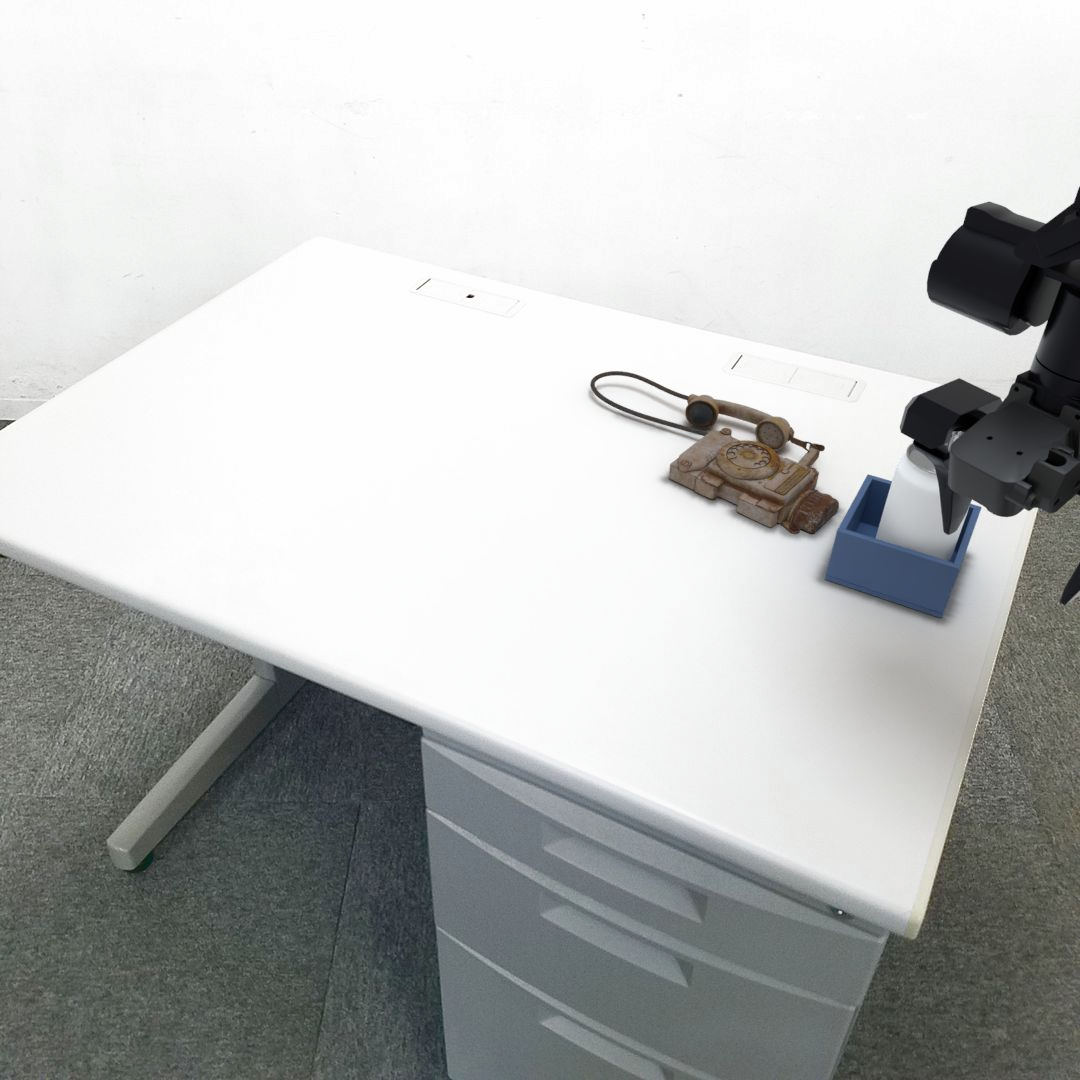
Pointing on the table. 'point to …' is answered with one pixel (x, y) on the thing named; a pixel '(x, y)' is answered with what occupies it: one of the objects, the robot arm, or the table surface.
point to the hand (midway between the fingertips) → (1005, 565)
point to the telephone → (745, 463)
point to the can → (916, 509)
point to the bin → (892, 556)
